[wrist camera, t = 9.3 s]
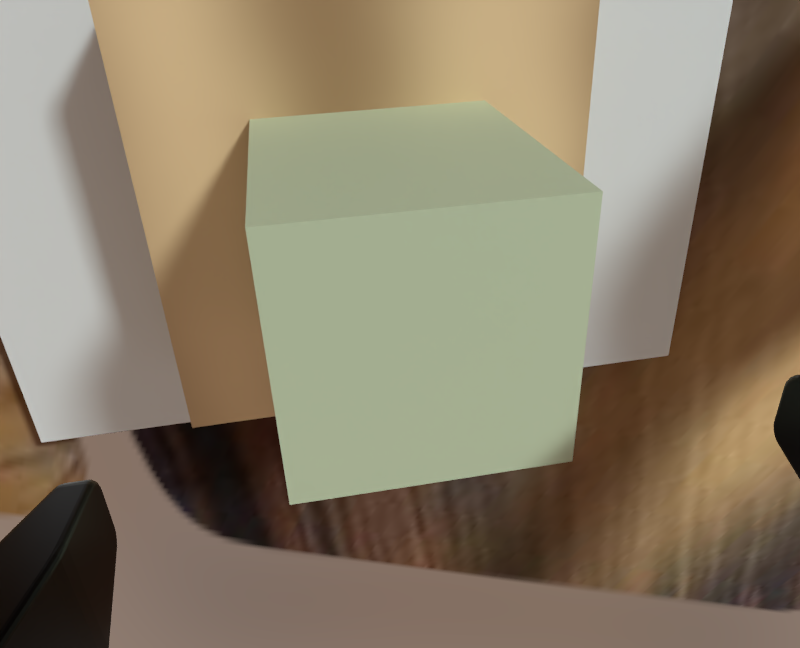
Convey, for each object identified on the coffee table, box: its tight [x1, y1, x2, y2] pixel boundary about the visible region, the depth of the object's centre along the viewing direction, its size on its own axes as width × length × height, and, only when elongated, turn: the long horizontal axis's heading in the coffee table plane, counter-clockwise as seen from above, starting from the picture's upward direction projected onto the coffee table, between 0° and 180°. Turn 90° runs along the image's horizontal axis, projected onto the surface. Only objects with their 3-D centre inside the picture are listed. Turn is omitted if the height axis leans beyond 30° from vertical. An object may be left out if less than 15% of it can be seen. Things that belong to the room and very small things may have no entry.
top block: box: [245, 100, 603, 505], centre depth 13 cm, size 5×5×6 cm
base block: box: [88, 0, 600, 428], centre depth 17 cm, size 10×10×3 cm
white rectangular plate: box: [0, 0, 733, 443], centre depth 19 cm, size 20×14×1 cm
